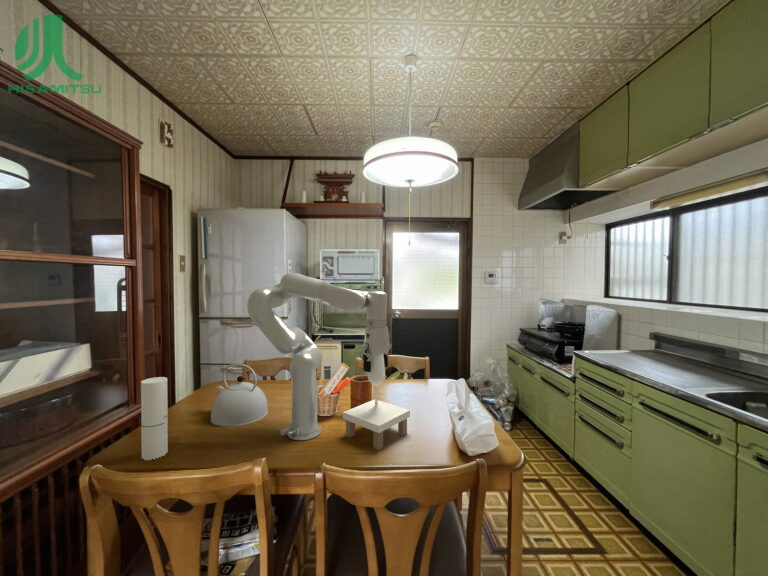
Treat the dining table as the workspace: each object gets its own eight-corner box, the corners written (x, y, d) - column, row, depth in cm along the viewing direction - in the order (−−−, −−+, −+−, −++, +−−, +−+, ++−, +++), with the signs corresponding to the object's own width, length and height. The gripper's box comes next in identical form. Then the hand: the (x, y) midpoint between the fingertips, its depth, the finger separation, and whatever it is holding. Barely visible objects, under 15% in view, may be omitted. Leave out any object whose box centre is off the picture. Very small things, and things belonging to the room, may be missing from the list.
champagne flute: (375, 406, 127) (375, 345, 126) (388, 410, 123) (389, 347, 122) (363, 411, 122) (364, 348, 121) (377, 416, 117) (377, 350, 117)
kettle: (193, 421, 134) (193, 367, 134) (235, 402, 156) (235, 355, 155) (241, 430, 126) (241, 372, 126) (278, 409, 147) (278, 360, 147)
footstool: (378, 452, 110) (378, 425, 109) (343, 435, 121) (343, 412, 121) (409, 433, 123) (409, 410, 123) (375, 420, 135) (375, 399, 135)
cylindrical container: (172, 448, 112) (172, 376, 111) (158, 460, 104) (158, 383, 104) (151, 449, 111) (150, 377, 111) (136, 460, 104) (135, 383, 104)
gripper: (368, 327, 113) (367, 375, 113) (398, 323, 126) (397, 366, 126) (353, 324, 118) (352, 371, 118) (383, 321, 131) (383, 363, 131)
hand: (375, 368), depth 122 cm, fingers open, 9 cm apart
